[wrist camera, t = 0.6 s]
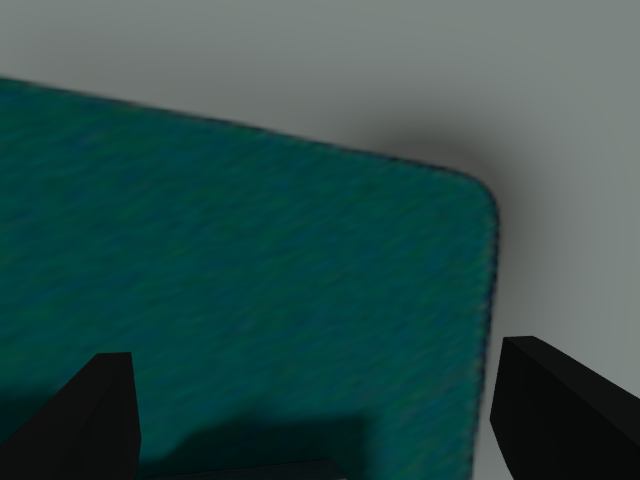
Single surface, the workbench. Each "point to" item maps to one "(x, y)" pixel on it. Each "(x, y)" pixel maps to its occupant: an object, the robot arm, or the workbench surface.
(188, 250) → the workbench surface
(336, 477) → the sleeve
